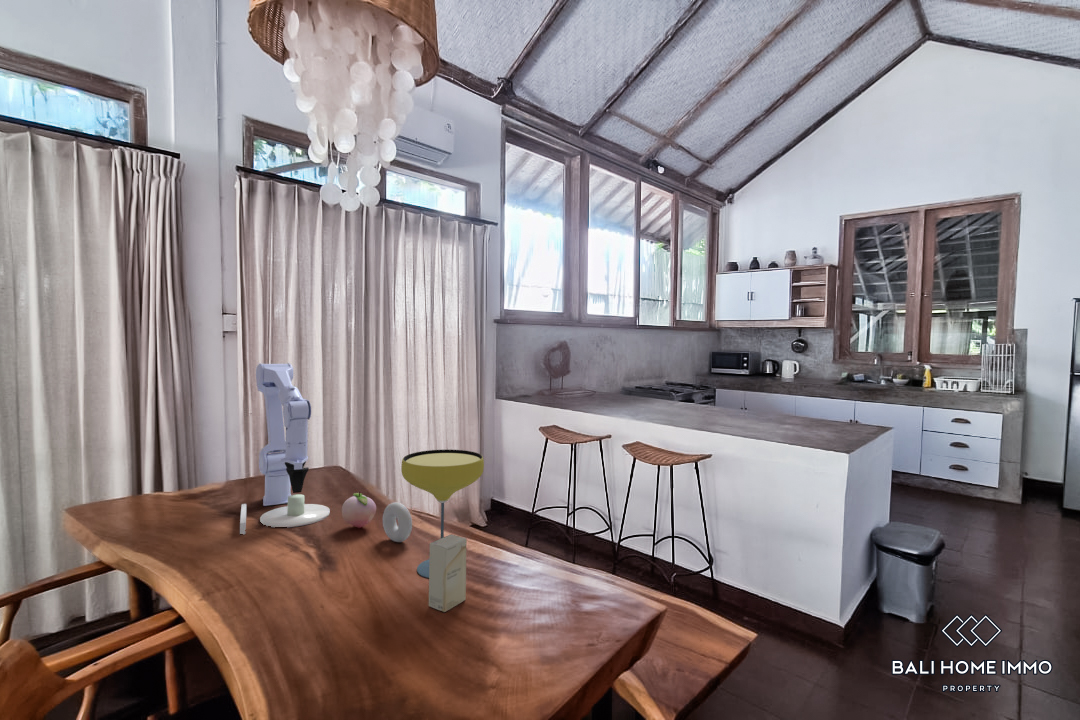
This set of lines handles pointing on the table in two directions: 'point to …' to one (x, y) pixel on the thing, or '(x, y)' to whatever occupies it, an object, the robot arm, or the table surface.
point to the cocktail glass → (441, 477)
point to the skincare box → (447, 572)
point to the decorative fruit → (358, 510)
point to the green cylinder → (295, 505)
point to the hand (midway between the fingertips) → (296, 489)
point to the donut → (404, 522)
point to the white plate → (283, 520)
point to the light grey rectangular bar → (243, 519)
